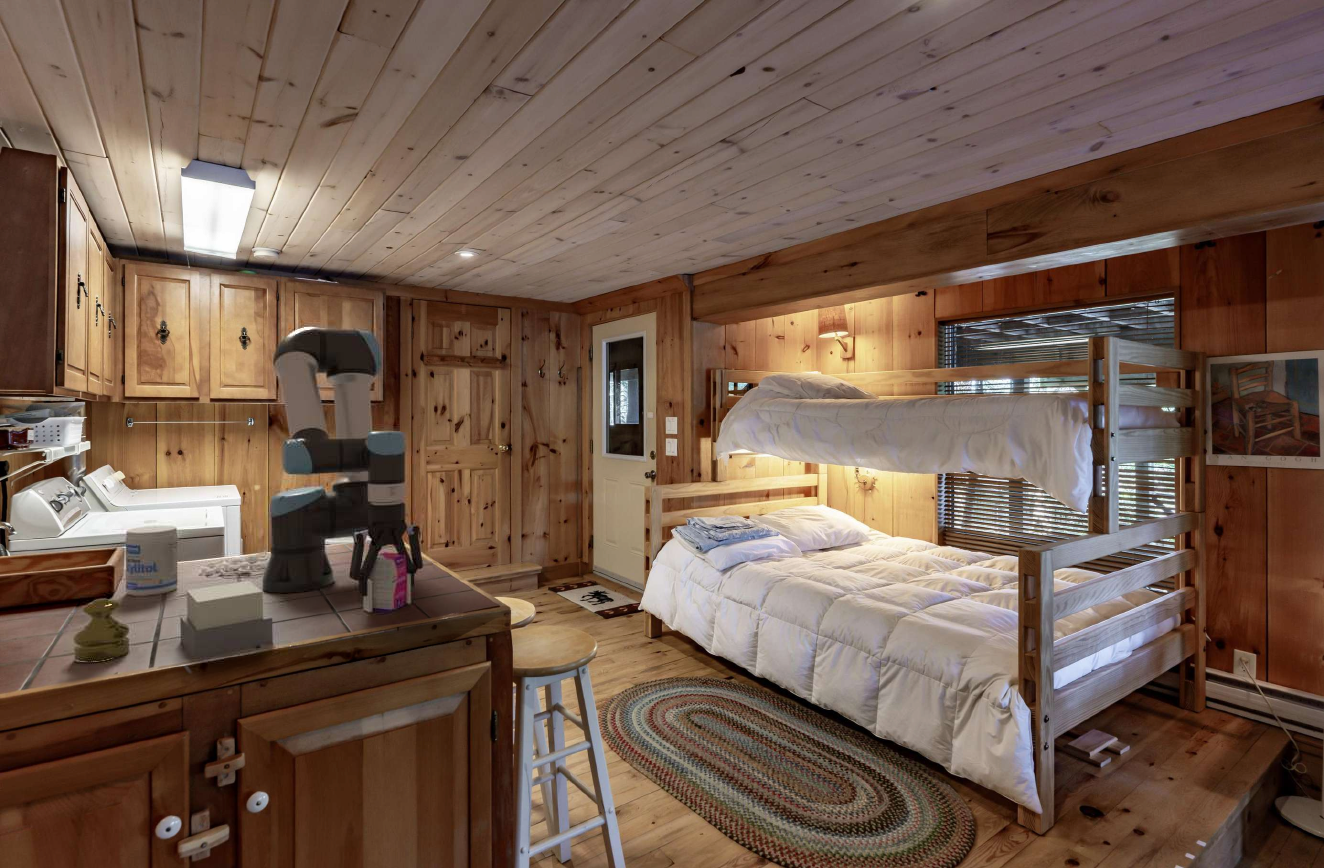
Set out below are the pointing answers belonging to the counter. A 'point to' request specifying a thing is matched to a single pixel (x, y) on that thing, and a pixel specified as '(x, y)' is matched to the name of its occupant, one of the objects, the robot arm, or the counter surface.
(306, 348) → the robot arm
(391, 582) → the supplement box
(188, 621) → the tower base
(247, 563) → the tangled rod sculpture
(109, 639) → the olive coiled snake figurine
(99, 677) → the counter surface
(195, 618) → the tower top
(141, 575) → the supplement tub
